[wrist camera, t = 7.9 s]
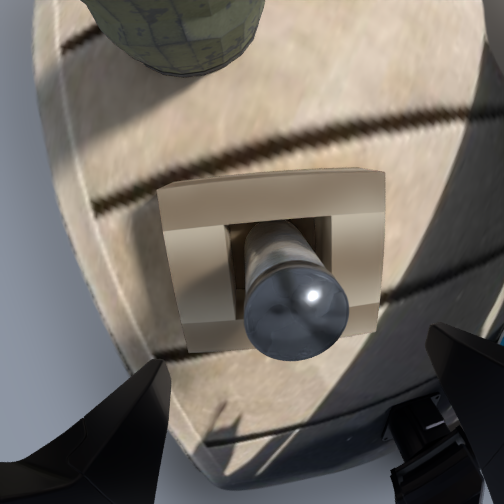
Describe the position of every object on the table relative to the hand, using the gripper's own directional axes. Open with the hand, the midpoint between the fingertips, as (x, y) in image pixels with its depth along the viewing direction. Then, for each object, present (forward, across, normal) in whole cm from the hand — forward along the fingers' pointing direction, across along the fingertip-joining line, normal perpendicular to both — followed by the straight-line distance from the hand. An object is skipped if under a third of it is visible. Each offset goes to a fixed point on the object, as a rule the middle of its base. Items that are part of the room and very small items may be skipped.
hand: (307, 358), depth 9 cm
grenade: (+12, +4, -16) cm, 20 cm away
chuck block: (+12, 0, 0) cm, 12 cm away
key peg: (+12, 0, 0) cm, 12 cm away
